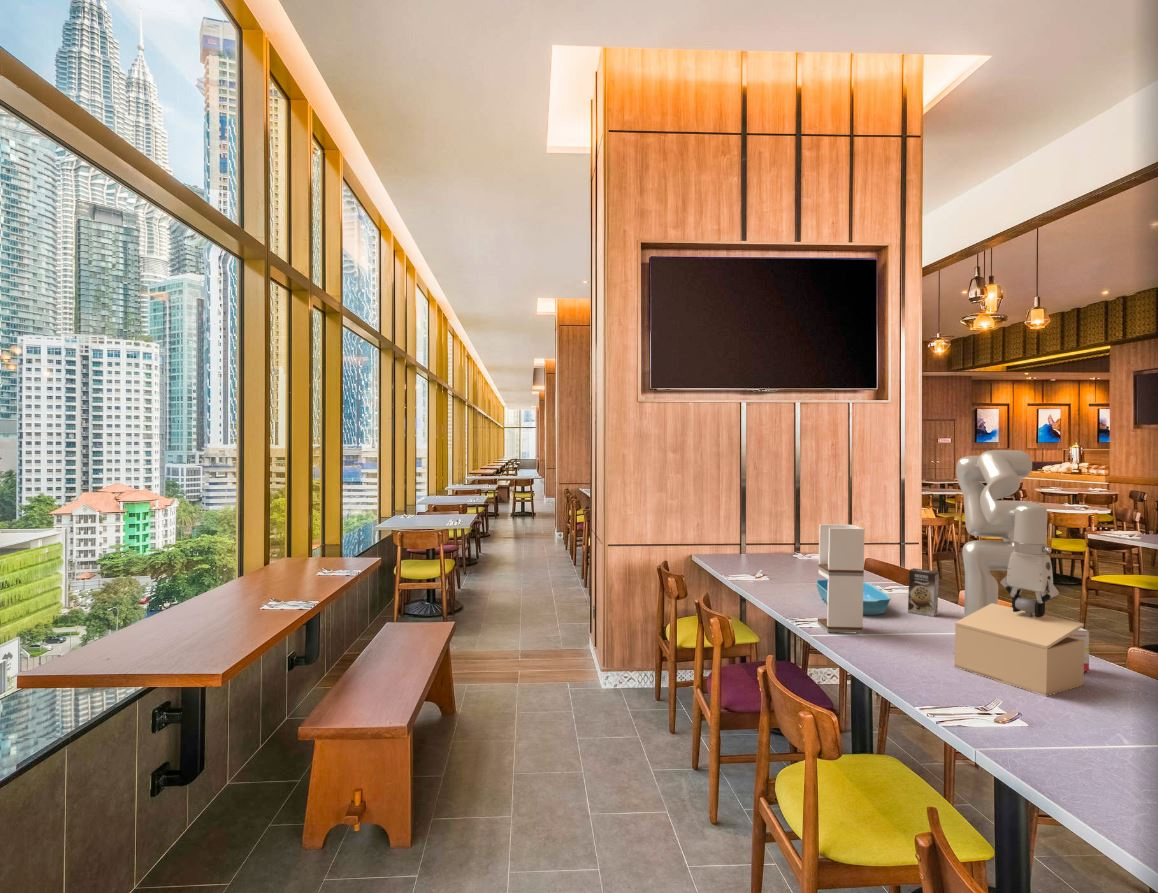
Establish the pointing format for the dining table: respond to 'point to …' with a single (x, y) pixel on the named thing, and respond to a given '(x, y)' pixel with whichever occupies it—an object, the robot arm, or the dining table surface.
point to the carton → (1021, 661)
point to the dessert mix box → (923, 592)
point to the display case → (842, 576)
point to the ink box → (1084, 636)
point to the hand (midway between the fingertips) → (1027, 613)
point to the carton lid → (1020, 624)
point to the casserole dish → (872, 597)
